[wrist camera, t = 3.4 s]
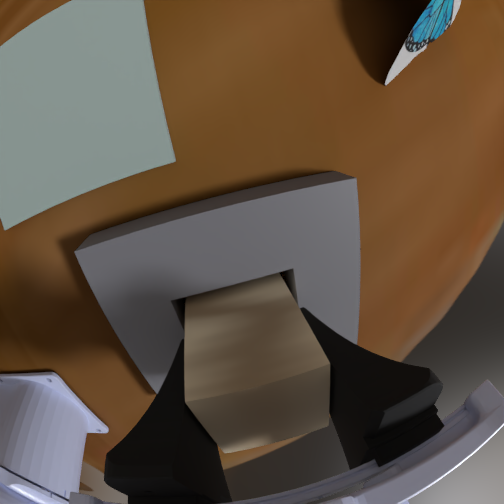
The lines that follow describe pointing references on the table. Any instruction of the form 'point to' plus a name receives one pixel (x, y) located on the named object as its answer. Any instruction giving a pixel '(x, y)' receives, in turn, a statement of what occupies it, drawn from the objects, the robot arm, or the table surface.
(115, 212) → the table surface
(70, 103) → the rubber mat
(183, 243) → the pocket holder
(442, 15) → the decorative butterfly
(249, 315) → the maple block
